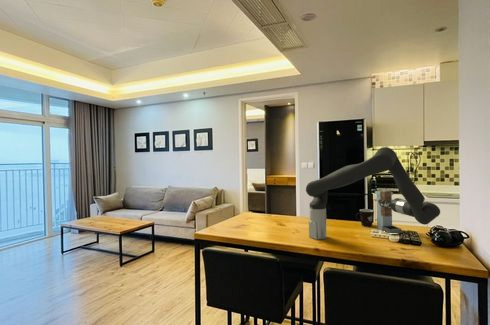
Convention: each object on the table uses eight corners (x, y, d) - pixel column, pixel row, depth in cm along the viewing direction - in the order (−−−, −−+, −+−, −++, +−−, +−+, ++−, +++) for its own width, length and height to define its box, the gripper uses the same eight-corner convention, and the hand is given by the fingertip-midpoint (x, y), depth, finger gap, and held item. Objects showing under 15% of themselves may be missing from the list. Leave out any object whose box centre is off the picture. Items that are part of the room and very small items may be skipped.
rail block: (391, 216, 152) (391, 190, 151) (384, 216, 151) (384, 190, 151) (387, 214, 156) (386, 189, 155) (380, 215, 155) (380, 189, 155)
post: (393, 230, 164) (392, 192, 163) (382, 231, 163) (382, 192, 162) (386, 227, 171) (385, 190, 170) (376, 228, 170) (375, 191, 169)
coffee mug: (372, 223, 180) (372, 209, 179) (375, 227, 171) (375, 212, 171) (354, 223, 182) (353, 208, 182) (356, 226, 174) (355, 211, 174)
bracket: (401, 233, 157) (401, 228, 157) (390, 234, 156) (390, 229, 156) (393, 230, 164) (392, 225, 164) (382, 230, 164) (382, 226, 163)
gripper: (415, 198, 140) (394, 194, 157) (389, 200, 138) (371, 195, 155) (415, 213, 140) (394, 206, 157) (389, 214, 139) (371, 208, 156)
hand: (382, 201), depth 156 cm, fingers closed on rail block, 4 cm apart
